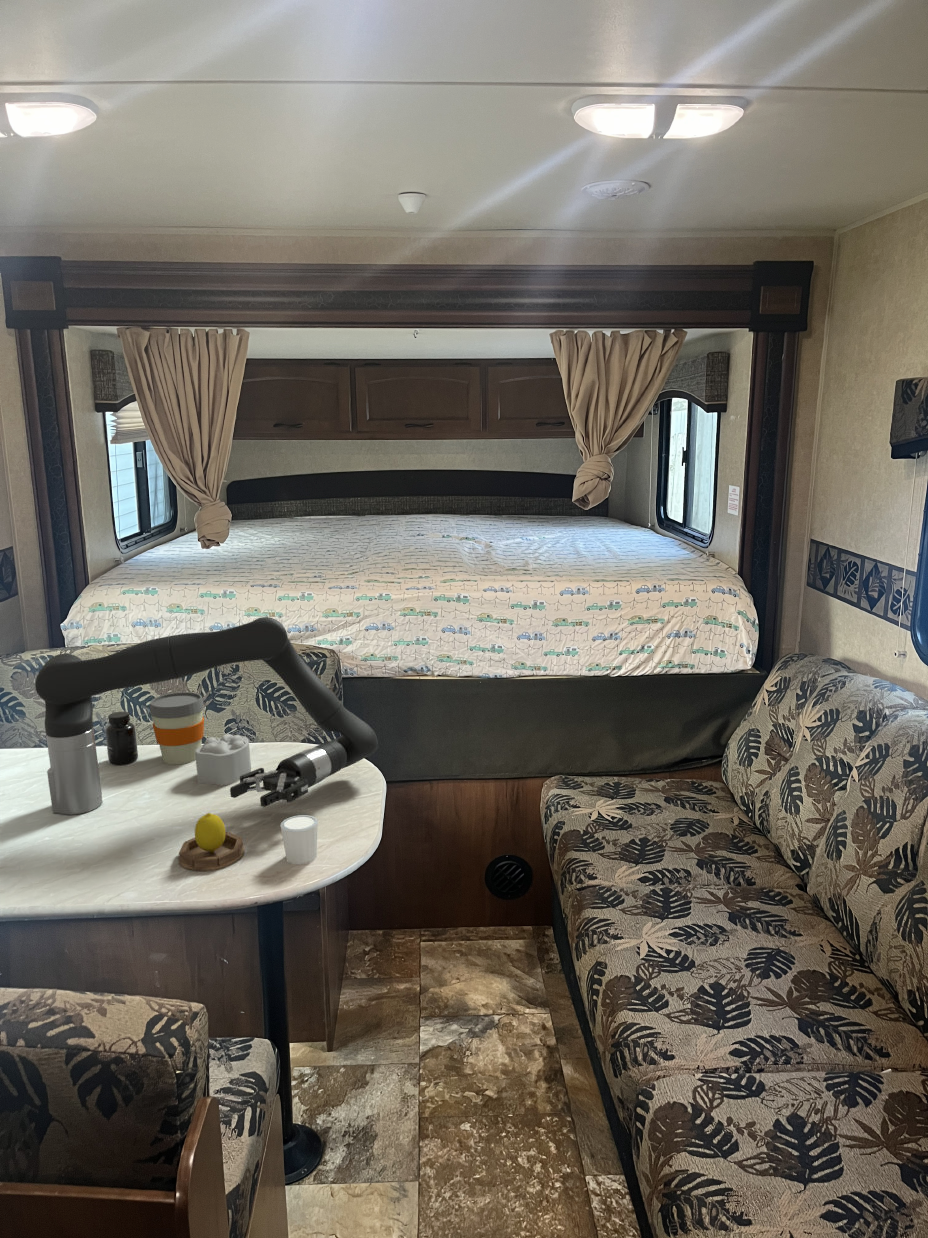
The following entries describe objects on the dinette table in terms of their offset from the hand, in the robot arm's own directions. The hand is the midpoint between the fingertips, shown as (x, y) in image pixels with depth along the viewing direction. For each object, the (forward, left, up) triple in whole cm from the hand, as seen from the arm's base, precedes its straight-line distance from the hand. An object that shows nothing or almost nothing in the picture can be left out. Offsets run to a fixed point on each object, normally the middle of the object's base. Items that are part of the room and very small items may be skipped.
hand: (246, 797), depth 169 cm
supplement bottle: (-37, +46, -8) cm, 59 cm away
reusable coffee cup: (-23, +46, -8) cm, 52 cm away
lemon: (-6, -7, -8) cm, 12 cm away
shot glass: (+11, -10, -8) cm, 17 cm away
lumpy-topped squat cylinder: (-10, +34, -8) cm, 36 cm away
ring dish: (-6, -7, -8) cm, 12 cm away
